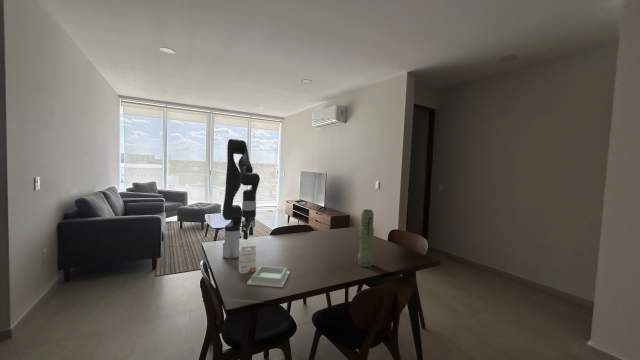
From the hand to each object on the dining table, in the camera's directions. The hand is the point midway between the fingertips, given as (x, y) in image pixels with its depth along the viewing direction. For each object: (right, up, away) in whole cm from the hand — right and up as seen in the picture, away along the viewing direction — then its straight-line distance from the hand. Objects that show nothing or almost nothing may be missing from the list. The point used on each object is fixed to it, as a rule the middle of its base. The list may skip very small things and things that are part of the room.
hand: (248, 237), depth 147 cm
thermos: (+69, -22, +20) cm, 75 cm away
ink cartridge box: (-1, -20, +1) cm, 20 cm away
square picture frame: (+13, -20, -7) cm, 25 cm away
